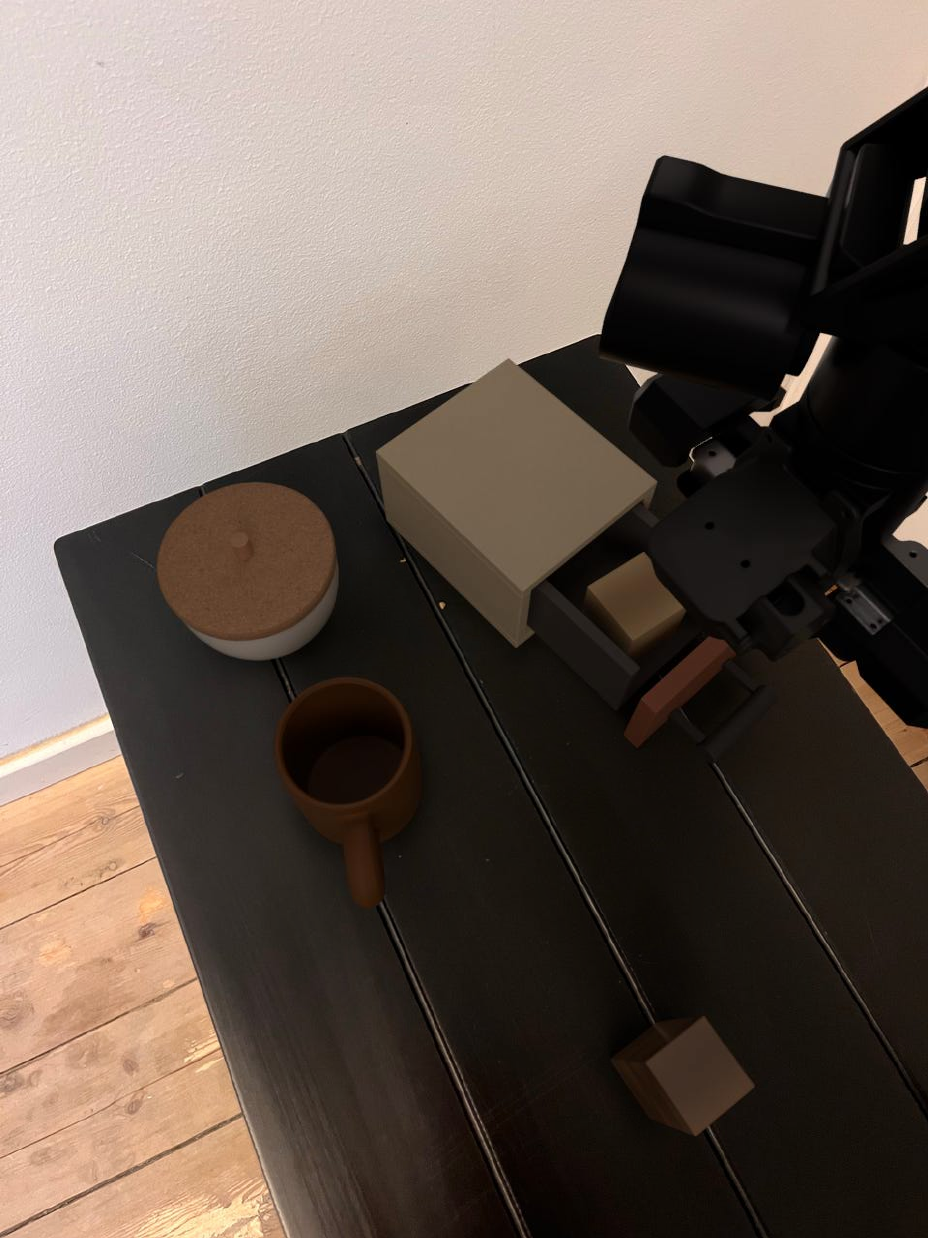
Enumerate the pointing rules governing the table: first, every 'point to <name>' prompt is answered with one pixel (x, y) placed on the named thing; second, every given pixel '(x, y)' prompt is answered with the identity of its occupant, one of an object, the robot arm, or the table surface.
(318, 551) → the trinket box
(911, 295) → the robot arm
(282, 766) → the mug
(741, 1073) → the post
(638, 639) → the block
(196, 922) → the table surface
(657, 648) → the drawer
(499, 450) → the cabinet
